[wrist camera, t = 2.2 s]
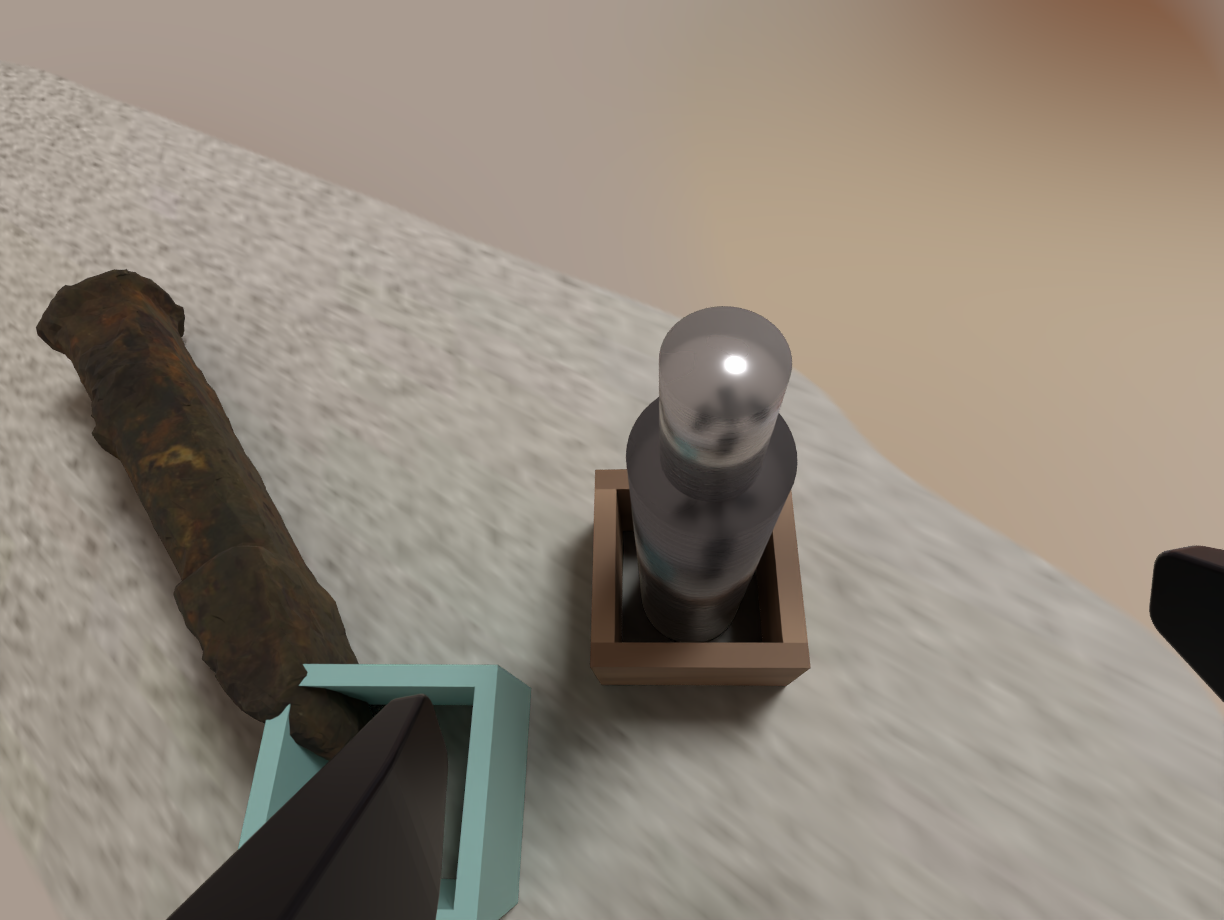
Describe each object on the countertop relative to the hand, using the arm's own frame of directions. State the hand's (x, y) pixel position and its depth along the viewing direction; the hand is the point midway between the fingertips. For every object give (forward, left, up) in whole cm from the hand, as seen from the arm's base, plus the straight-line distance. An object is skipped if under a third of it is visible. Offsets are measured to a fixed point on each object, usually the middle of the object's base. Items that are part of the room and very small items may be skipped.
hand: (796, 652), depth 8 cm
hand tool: (+7, +15, -12) cm, 21 cm away
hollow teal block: (-2, +8, -12) cm, 15 cm away
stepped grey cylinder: (+4, +1, -12) cm, 13 cm away
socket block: (+4, +1, -12) cm, 13 cm away
